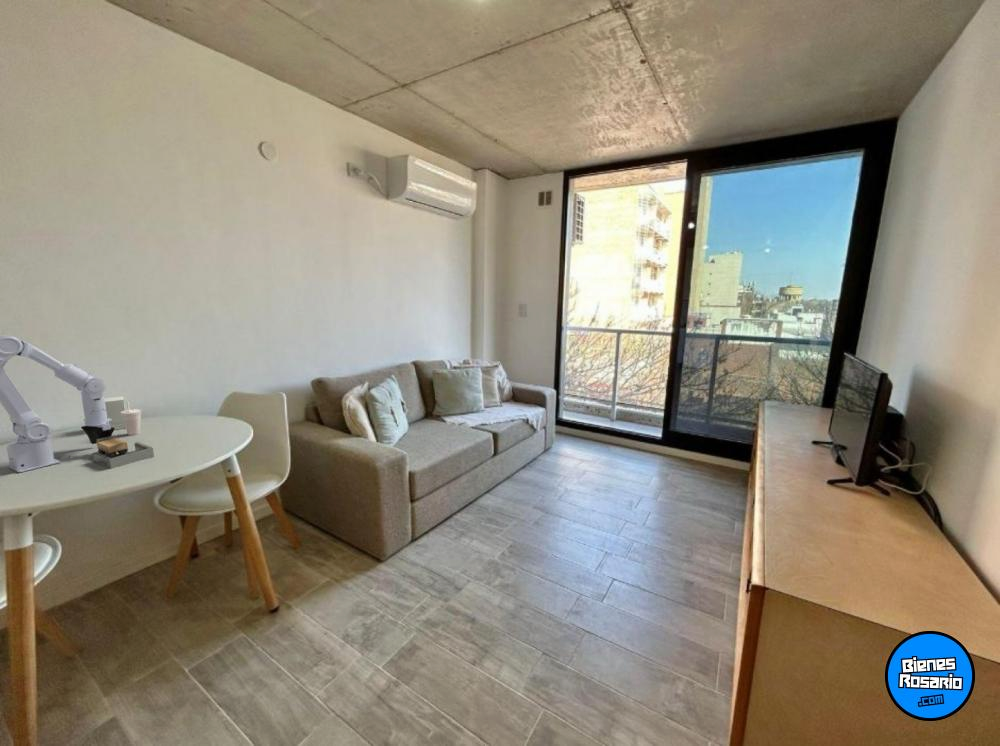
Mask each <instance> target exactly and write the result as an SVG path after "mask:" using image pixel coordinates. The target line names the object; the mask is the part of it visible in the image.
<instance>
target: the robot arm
mask: <svg viewBox="0 0 1000 746" xmlns="http://www.w3.org/2000/svg"><path fill="white" fill-rule="evenodd" d="M16 356H17V357H18V356H20V357H26V358H29V359H30V360H33V361H35V362H36V363H38V364H40V365H42V366H44V367H47V368H48V369H50V370H52V371H53V372H54V376H55V377H56V378H57V379H60V380H62V381H63V382H65V383H67V384H69V385H70V386H73V387H75V388H76V389H77V390H78V391H80V393H81V402H82V407H83V414H84V418H83V422H84V425H83V426H80V428H81V430H82V431H84V433H85V434H86V436H87V437H88V439H89V441H90V443H91V445H95V444H96V445H97V441H96V439H101V438H105V437H109V436H113V433H114V431H116V430H115V428H113V427H110V424H109V421H112V419H110V418H108V419H107V413H106V406H105V396H104V391H105V390H106V388H107V385H106V384H105V382H104V381H103V380H102V379H100V378H96V377H94V374H93V373H91V372H89V373H88V372H86V371H84V370H83V369H81V366H80V365H78V364H72V363H70V362H69V363H62V362H61V361H59V360H57V359H56V358H54V356H53V357H52V355H50V354H48V353H46V352H45V351H43V350H41V349H40V348H38V347H37V346H34V345H33V344H31V343H29V342H26V341H24V340H21V339H19V338H18V337H16V336H13V335H5V334H2V333H0V404H1V406H2V407H3V409H4V410H5V411H6V413H7V414H8V415H9V419H10V420H9V421H10V422H11V423H12V431H13V433H14V434H16V435H17V436H18V438H17V439H16V440H17V441H16V442H14V443H11V444H10V443H9V444H8V445H6V452H7V457H8V463H9V468H10V469H11V470H13V471H14V472H16V473H17V472H18V473H23V472H27V471H28V472H29V471H30V470H31V471H32V470H36V469H39V468H43V467H47V466H52V465H55V464H56V465H57V464H60V462H61V461H60V460H58V459H56V458H55V455H54V450H53V445H52V439H51V433H52V426H51V425H50V424H49V423H47V422H45V421H43V420H42V419H41V417H40V416H39V415H38V414H36V412H34V411H33V409H32V408H31V407H30V405H29V404H28V402H27V401H26V399H25V397H24V396H23V395H22V394H21V393H22V392H20V391H19V389H18V388H17V387H16V385H15V383H14V382H13V380H12V379H11V378H10V376H9V375H8V373H7V372H6V370H5V368H4V367H5V365H6V364H7V363H8V361H9V360H11V359H12V358H14V357H16Z"/></svg>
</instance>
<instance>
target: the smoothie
mask: <svg viewBox="0 0 1000 746" xmlns="http://www.w3.org/2000/svg"><path fill="white" fill-rule="evenodd" d="M126 404H127V409H125V411H122V412H121V415H122V418H123V421H124V424H125V427H126V428H125V430H126V433H127V435H128V436H136V435H140V434H141V414H142V409H140V408H139V409H138V408H136V409H135V408H134V409H130V402H129V400H127V401H126Z"/></svg>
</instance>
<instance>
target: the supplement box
mask: <svg viewBox="0 0 1000 746" xmlns="http://www.w3.org/2000/svg"><path fill="white" fill-rule="evenodd" d="M104 399H105V406H106V413H107V419H108V418H110V419H112V421H109V424H110V427H113V428H115V430H114V431H116V430H122V429H126V427H125V424H124V421H123V418H122V415H121V412H122V411H126V404H125V397H124V396H114V397H107V398H106V397H104Z"/></svg>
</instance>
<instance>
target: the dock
mask: <svg viewBox="0 0 1000 746" xmlns="http://www.w3.org/2000/svg"><path fill="white" fill-rule="evenodd" d="M134 450H135V451H133V452H130V453H125V454H120V455H118V456H114V457H111V458H110V457H107V456H105V454H104V455H102V454H100V453H98V451H96V452H93V453H92V456H93V462H94V463H96V464H98V465H101V466H102V467H106V468H108V469H114V468H117V467H120V466H121V467H123V466H125V465H129V464H131V463H135V462H141V461H142V460H146V459H149V458H153V457H155V454H154V447H152V446H150V445H147V444H145V443H142V442H139V441H138V442H137V441H136V442H134Z"/></svg>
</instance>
